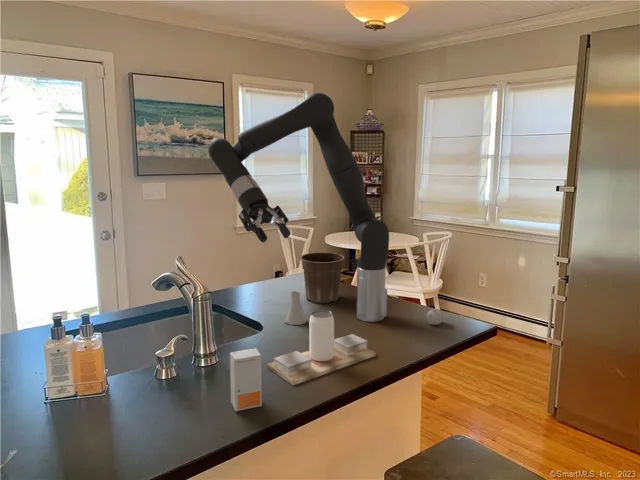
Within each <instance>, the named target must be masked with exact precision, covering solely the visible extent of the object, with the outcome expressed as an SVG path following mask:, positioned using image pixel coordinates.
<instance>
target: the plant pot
mask: <svg viewBox="0 0 640 480" xmlns="http://www.w3.org/2000/svg"><path fill="white" fill-rule="evenodd" d="M344 260H345V256H344V255H342V254H339V253H336V252H325V251H324V252H323V251H322V252H310V253H304V254H302V255H301V256H300V261H301V264H302V266H301V267H302V269H303V277H304V288H305V298H306V300H307V301H310V302H311V303H314V304H329V303H331V302H333V303H334V302H336V301H338V300H339V297H340V296H339V295H340V283H341V275H342V269H343V263H344Z"/></svg>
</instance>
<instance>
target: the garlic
mask: <svg viewBox="0 0 640 480" xmlns="http://www.w3.org/2000/svg"><path fill="white" fill-rule="evenodd" d="M425 317H426V322H427V324H429V325H431V326H437V325H441V324H442V323H443V322H444V314H443V312H442V311H440V310H437V309H435V308H433V309H429V310H428V312H427V313H426V316H425Z"/></svg>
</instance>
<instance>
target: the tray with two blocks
mask: <svg viewBox="0 0 640 480" xmlns="http://www.w3.org/2000/svg"><path fill="white" fill-rule="evenodd" d="M376 354H377V353H376V351H373V350H371V349H369V348H368V340H367V339H364V338H363V337H360V336H358V335H356V334H353V333H351V334H348V335H345V336H344V335H343V336H342V337H338V338H334V357H333V358H332V359H331V360H329V361H326V362H318V361H314V360H312V359H311V358H310V351H309V350H306V351H304V352H300V351H298V350H295V351H292V352H289V353H285V354H282V355H280V356H276V357H273V360H274V361H272V362H269V363H266V369H268V370H270V371H271V372H272V373H274V374H276V375H278V376H279V377H280V378H281V379H283V380H285V381H286V382H288V383H289V384H290V385H292V386H295V385H298V384H301V383H304V382H307V381H310V380H312V379H315V378H318V377H320V376H323V375H326V374H328V373H332V372H334V371H337V370H340V369H343V368H345V367H349V366H351V365H353V364H357V363H359V362H362V361H365V360H367V359H371V358H373V357H376V356H377V355H376Z"/></svg>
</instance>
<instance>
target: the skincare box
mask: <svg viewBox="0 0 640 480" xmlns="http://www.w3.org/2000/svg"><path fill="white" fill-rule="evenodd" d="M229 367H230V368H229V369H230V370H229V371H230V377H229V378H230V402H231V405H232V406H233V409H234V411H235V412H239V411H244V410H248V409H254V408H260V407H262V406H263V398H262V397H263V395H262V393H263V391H262V389H263V387H262V384H263V383H262V376H263V375H262V354H261V353H260V352H259V350H258V348H255V347H254V348H250V349H242V350H238V351H231V352H229Z"/></svg>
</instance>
